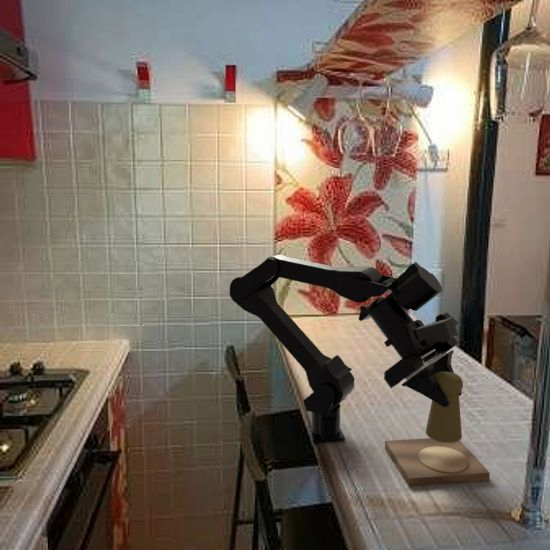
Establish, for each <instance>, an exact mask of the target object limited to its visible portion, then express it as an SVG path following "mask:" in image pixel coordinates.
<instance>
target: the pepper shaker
mask: <svg viewBox="0 0 550 550" xmlns="http://www.w3.org/2000/svg"><path fill="white" fill-rule="evenodd" d="M434 378H435V379H436V381H437V382H438V384H439V386H440V387H441V389H442V391H443V392H444V394H445V395H446V397H447V399H448V401H449V403H450V404H449V405H448V406H447V407H443V406H441V405H440V404H438V403H436V402H434V401H433V400H431V402H430V403H431V405H430V409H429V413H428V418H427V422H426V428H425V434H426V436H427V438H432V439H434V440H436V441H440V442H447V443H452V442H457V441H459V440H460V441H461V440H462V437H463V433H462V420H461V419H462V418H461V406H460V403H461V402H460V396H459V394H460V393H461V392H462V391H463V387H464V382H463V378H462V377H461V376H460V375H458V374H457V373H455V372H454V373H451V372H438V373H436V374H434Z"/></svg>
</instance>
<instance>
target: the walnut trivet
mask: <svg viewBox="0 0 550 550" xmlns="http://www.w3.org/2000/svg"><path fill="white" fill-rule="evenodd" d="M384 449H385V451H386V452H387V454H388V456H389V457H390V459H391V461H392V462H393V464H394V465H395V467H396V469H397V470H398V472H399V473H400V475H401V477H402V478H403V480H404V482H405V483H406V484H407V486H408V487H411V488H412V487H423V486H435V485H437V486H438V485H449V484H464V483H477V482H489V481H490V474H491V473H490V471H489V470H488V469H487V468H486V467H485V466H484V464H482V462H481V461H480V460H479V459H478V458H477V457H476V456H475V455H474V454H473V452H471V451H470V450H469V448H467V446H466V445H465V444H464V443H463V442H462V441H461V440H459V441H457V442H452V443H447V442H440V441H436V440H434V439H432V438H430V437H426V438H425V437H424V438H413V439H412V438H411V439H410V438H409V439H408V438H407V439H395V440H393V439H392V440H385V441H384Z"/></svg>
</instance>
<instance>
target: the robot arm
mask: <svg viewBox="0 0 550 550" xmlns="http://www.w3.org/2000/svg"><path fill="white" fill-rule="evenodd" d="M279 279H286V280H290V281H294V282H299V283H303V284H308V285H313V286H316V287H321V288H324V289H328V290H331V291H332V292H334V293H335V294H337V295H338V296H339V297H342V298H344V299H346V300H348V301H351V302H354V303H359V304H361V303H365V302H367V301H369V300H371V299H372V298H375V297H377V298H375V299H374V300H373V301H372V302H371V303H370V304H369V305H368V304H364V305H360V306H359V309H360V310H359V315H358V321H360V322H362V321H365V320H369V319H370V318H371V319H372V321H373V322H374V323H375V325H376V326H377V328H378V329H379V330H380V332H381V333H382V334H383V336H384V337H385V338H386V339H387V340H385V341H384V342H383V343H384V345H385V346H386V347H387V348H388V347H390V346H392V348H393V349H394V351H396V353H397V355H398V356H399V357H400V360H398V361H397V362H396V363H394V364H393V365H392V366H390V367H389V368H388V369H386V370H385V371H383V374H384V376H383V380H384V381H385V384H387V386H388V387H389V389H393V388H394V387H396V386H397V385H399V384H401V382H402V381H403V380H406V381H404V382H403V383H402V384H401V386H402V388H403V387H406V388H409V389H411V390H412V391H415V392H417V393H419V394H421V395H422V396H424V397H426V398H428V399H429V400H431V401H432V400H433V401H434V402H436V403H438V404H440V405H441V406H443V407H447V406H448V405H449V404H450V403H449V401H448V399H447V397H446V395H445V394H444V392H443V391H442V389H441V387H440V386H439V384H438V382H437V381H436V379H435V378H434V374H436V373H438V372H451V373H455V372H454V369H453V366H452V358H453V354H454V353H455V351H454V349H453V348H455V347H456V346H457V345H459V342H458V340H457V339H456V337H458V336H459V333H458V329H457V326H458V325H459V322H458V321H457V320H456V319H455V317H454V316H452V315H451V314H449V312H447V311H446V312H443V313H439V314H438V315H437V314H436V316H435V321H433V322H431V323H427V324H424V323H423V321H422V320H421V319H419V318H418V319H417V318H416V320H413V317H411V316H410V314H409V313H408V311H409V310H411V311H414V312H417V311H419V310H420V309H422V308H423V307H424V306H425V305H427V304H428V303H429V302H431V300H433V299H434V298H435V297H437V296H438V295H440V293H442V292H443V287H442V285H441V283H440V281H439V280H438V278H436V276H435V275H434V273H431V272H430V271H428V270H427V269H426V268H424V267H423V266H421V265H420V264H419V263H418V262H416V261H415V262H413V263H411V264H410V265H409V266H408V267H407V268H406V270H405V271H403V273H401V274H400V275H399V276H398V277H393V276H390V275H386V274H382V273H380V271H379V270H378V269H377V268H375V267H374V266H373V267H372V266H333V265H329V264H324V263H319V262H313V261H309V260H305V259H299V258H294V257H289V256H286V255H284V254H275V255H272V256H269V257H267V258H266V259H265V260H264V261H263V262H261V263H260V264H259V265H257V266H255V268H253V269H251V270H250V271H249V272H247V273H245V274H244V275H241V276H238V277H237V276H236V277H235V278H234V279H232V280H231V282H230V284H229V293H228V294H229V297H230V299H231V300H232V301H233V302H234V303H235V304H236V305H237V306H238V307H240V309H241V310H243V311H244V312H246V313H248V314H250V315H253V316H255V317H258V318H259V319H260V321H261V322H262V323H263V324H264V326H266V327H267V328H268V330H269V331H270V332H271V334H272V335H274V336H275V338H276V339H277V340H278V341H279V343H280V344H282V346H283V347H284V348H285V349H286V351H288V353H289V354H290V355H291V357H293V359H295V361H296V362H297V363H298V364H299V365H300V366H301V368H302V369H303V371H304V372H305V375H306V379H307V381H308V386H309V387H310V390H312V393H310V395H308V396H307V397H306V398H305V399H303V405H304V408H305V411H306V412H311V415H310V416H311V424H309V425H307V427H306V428H307V431H308V433H309V436H310V439H311V442H313V443H323V442H325V443H326V442H337V441H338V442H339V441H346V436H345V434H344V433H343V431H342V428H341V403H342V402H343V401H344V400H346V398H347V397H348V396H349V395H350V394H351V393H352V392H353V390H354V388H355V377H354V375H353V372H351V371H353V369H352V368H351V367H349V366H348V365H347V364H346V363H345V361H343V360H342V357H340V355H338V354H336V355H334V356H333V357H329V356H327V355H325V354H324V353H323V352H322V351H321V350H320V349H319V348H318V347H317V346H316V345H315V344H314V342H313V341H312V340H311V338H310V337H309V336H308V335H307V334H306V333H305V332H304V331H303V330H302V329H301V328H300V327H299V325H298V324H297V323H296V322H295V321H294V320H293V318H291V317H290V315H289V314H288V313H287V312H286V311H285V309H284V308H283V307H282V306H281V305H280V304H279V303H278V301H277V298H276V297H277V296H276V294H275V290H274V287H272V286H273V285H274V284H275V283H277V281H278V280H279ZM390 291H391V292H390ZM388 292H390V293H389V294H388V295H387V296H386V297H383V295H385V294H387V293H388ZM451 349H452V350H451ZM460 396H462V391H461V393H460V394H459V397H460Z"/></svg>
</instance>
